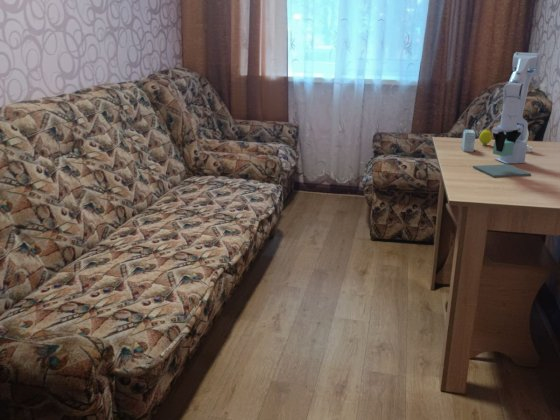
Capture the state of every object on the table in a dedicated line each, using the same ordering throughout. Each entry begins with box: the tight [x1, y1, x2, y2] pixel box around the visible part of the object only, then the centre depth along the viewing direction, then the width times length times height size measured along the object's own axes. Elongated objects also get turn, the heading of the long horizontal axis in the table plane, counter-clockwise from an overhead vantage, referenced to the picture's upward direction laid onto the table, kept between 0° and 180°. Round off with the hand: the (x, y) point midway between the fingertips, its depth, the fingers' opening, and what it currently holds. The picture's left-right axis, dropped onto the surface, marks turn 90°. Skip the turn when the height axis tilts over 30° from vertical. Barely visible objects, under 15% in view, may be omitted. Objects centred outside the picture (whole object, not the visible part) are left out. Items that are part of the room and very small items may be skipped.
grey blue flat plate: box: [472, 163, 532, 178], centre depth 209 cm, size 16×14×1 cm
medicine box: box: [461, 129, 476, 153], centre depth 242 cm, size 8×4×9 cm, turn 168°
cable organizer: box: [524, 128, 533, 153], centre depth 244 cm, size 5×10×10 cm, turn 90°
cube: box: [492, 140, 514, 157], centre depth 207 cm, size 5×5×5 cm
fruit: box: [478, 128, 493, 146], centre depth 253 cm, size 6×6×8 cm
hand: (504, 150), depth 207 cm, fingers closed on cube, 5 cm apart
